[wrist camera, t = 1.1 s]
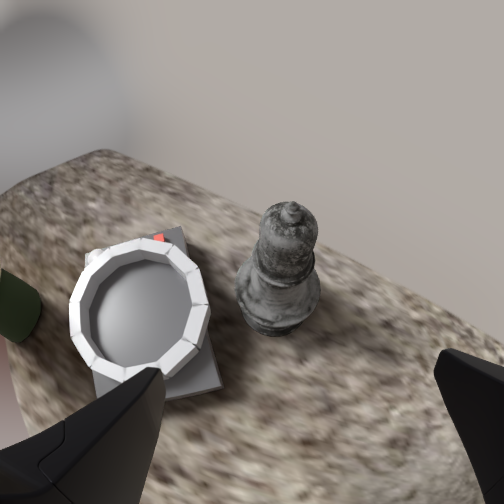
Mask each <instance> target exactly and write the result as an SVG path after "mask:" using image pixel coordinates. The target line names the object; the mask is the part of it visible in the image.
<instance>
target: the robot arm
mask: <svg viewBox="0 0 504 504" xmlns="http://www.w3.org/2000/svg"><path fill="white" fill-rule="evenodd" d="M434 377H435V380H436V382H437V385H438V387H439V390H440V392H441V395H442V398H443V400H444V403H445V406H446V408H447V410H448V413H449V415H450V417H451V419H452V421H453V423H454V425H455V427H456V429H457V432H458V434H459V436H460V438H461V441H462V443H463V445H464V447H465V450H466V452H467V455H468V457H469V459H470V462H471V464H472V467H473V469H474V472H475V475H476V477H477V480H478V483H479V485H480V488H481V491H482V494H483V498H484V501H485V504H504V367H502V366H500V365H497V364H494V363H491V362H488V361H486V360H483V359H480V358H477V357H475V356H472V355H469V354H466V353H464V352H461V351H458V350H455V349H453V348H448V349H444V350H442V351H441V352H440V354H439V357H438V359H437V362H436V365H435V368H434ZM165 397H166V387H165V383H164V379H163V374H162V371H161V369H160V368H157V367H146V368H144V369H143V370H141V371H140V372H138V373H137V374H135V375H134V376H132V377H130V378H129V379H127V380H126V381H124V382H123V383H121V384H120V385H118V386H117V387H115V388H113V389H112V390H110V391H109V392H107V393H106V394H104V395H102V396H101V397H99V398H98V399H96V400H94V401H93V402H91V403H90V404H88V405H86V406H85V407H83V408H82V409H80V410H78V411H77V412H75V413H73V414H72V415H70V416H69V417H67V418H65V419H64V420H62V421H60V422H58V423H57V424H55V425H53V426H52V427H50V428H48V429H46V430H44V431H42V432H41V433H39V434H37V435H34V436H32V437H30V438H28V439H26V440H24V441H21V442H19V443H16V444H14V445H12V446H9V447H7V448H5V449H2V450H0V504H139V502H140V498H141V495H142V491H143V488H144V484H145V481H146V477H147V474H148V470H149V467H150V464H151V460H152V457H153V454H154V450H155V447H156V444H157V440H158V436H159V431H160V426H161V420H162V414H163V408H164V403H165Z"/></svg>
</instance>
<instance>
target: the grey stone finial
mask: <svg viewBox="0 0 504 504" xmlns="http://www.w3.org/2000/svg"><path fill="white" fill-rule="evenodd" d="M317 235H318V226H317V221H316V219H315V217H314V216H313V215H312V214H311V212H310V211H309V210H308V209H306V208H305V207H304V206H302V205H300V204H298V203H296V202H294V201H292V202H281V203H278V204H275V205H273V206H271V207H270V208H268V209H267V210H266V211H265V213H264V214H263V216H262V219H261V222H260V231H259V240H258V241H257V242H256V244H255V245H254V247H253V251H252V256H251V257H250V258H248V259H247V260H246V261H245V262H244V263H243V264H242V266H241V267H240V269H239V270H238V273H237V276H236V279H235V295H236V299H237V302H238V304H239V305H240V307H241V311H242V315H243V317H244V319H245V321H246V322H247V324H248V325H249V326H250V327H251V328H252V329H253V330H255V331H257V332H259V333H260V334H263V335H267V336H282V335H286V334H289V333H291V332H292V331H294V330H296V329H297V328H298V327H299V326H300V325H301V323H302V322H303V320H305V319H306V318H307V317H308V316H309V315H310V314H311V313H312V312H313V311H314V309H315V307H316V305H317V303H318V301H319V297H320V291H321V289H320V280H319V278H318V275H317V273H316V270H315V269H314V265H315V256H314V252H313V249H314V246H315V243H316V240H317Z"/></svg>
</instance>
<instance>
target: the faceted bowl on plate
mask: <svg viewBox="0 0 504 504" xmlns="http://www.w3.org/2000/svg"><path fill="white" fill-rule="evenodd" d="M84 270H85V272H84V271H83V272H82V274H81V276H80V278H79V280H78V282H77V285H76V287H75V289H74V292H73V294H72V296H71V299H70V302H71V303H69V320H70V337H72V338H71V339H72V341H73V343H74V344H75V346H76V348H77V349H78V351H79V352H80V354H81V356H82V357H83V359H84V360H85V362H86V363H87V365H88V366H89V367H90V368H91V369H92V372H93V378H94V384H95V390H96V396H97V399H98V398H99V397H101V396H102V395H104V394H106V393H107V392H109V391H110V390H112V389H113V388H115V387H117V386H118V385H120V384H121V383H123V382H124V381H126V380H127V379H129V378H130V377H132V376H134V375H135V374H137V373H138V372H140V371H141V370H143V369H144V368H146V367H157V368H160V369H161V371H162V374H163V379H164V383H165V387H166V397H165V401H171V400H176V399H181V398H185V397H190V396H194V395H199V394H203V393H207V392H211V391H215V390H219V389H223V388H224V385H223V382H222V379H221V375H220V372H219V368H218V365H217V362H216V358H215V355H214V351H213V348H212V344H211V340H210V337H209V333H208V329H207V326H208V322H209V319H210V315H211V312H210V311H211V309H210V305H209V301H208V298H207V294H206V290H205V286H204V282H203V278H202V275H201V272H200V269H199V268H198V266H197V265H196V264H195V263H194V262H192V261H191V260H190V256H189V252H188V247H187V243H186V240H185V237H184V234H183V231H182V228H181V226H179V227H175V228H172V229H168V230H165V231H161V232H157V233H154V234H150V235H147V236H143V237H140V238H136V239H133V240H129V241H126V242H123V243H119V244H116V245H113V246H109V247H106V248H103V249H95V250H93V251H92V252H90V253H87V254H85V269H84Z"/></svg>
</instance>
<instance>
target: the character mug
mask: <svg viewBox="0 0 504 504" xmlns="http://www.w3.org/2000/svg"><path fill="white" fill-rule="evenodd" d="M40 313H41V300H40V297H39V294H38V292H37V290H36V289H34V288H33V287H31V286H30V285H29V284H27V283H25V282H24V281H22V280H21V279H19V278H18V277H16V276H14V275H12V274H11V273H9V272H7V271H5V270H4V269H2V268H1V259H0V334H1V335H2V336H4V337H5V338H7V339H8V340H10V341H12V342H21V341H23V340H24V339H25V338H27V337H28V336H29V334H30V333H31V331H32V330H33V328H34V327H35V325H36V322H37V320H38V318H39V315H40Z"/></svg>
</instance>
